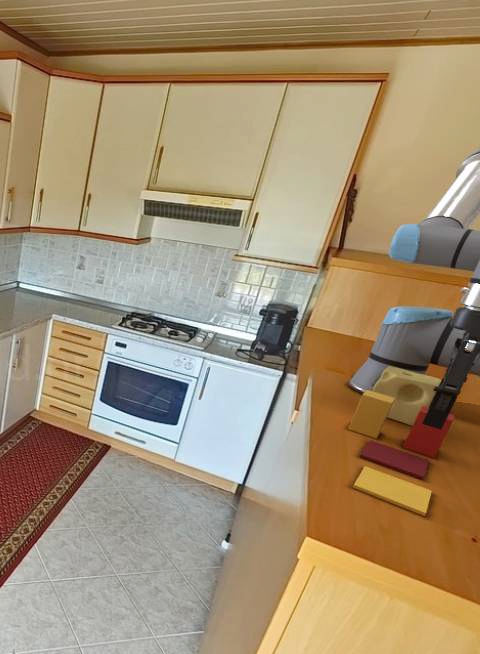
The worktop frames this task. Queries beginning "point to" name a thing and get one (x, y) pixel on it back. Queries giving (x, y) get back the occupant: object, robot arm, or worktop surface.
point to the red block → (426, 435)
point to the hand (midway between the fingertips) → (434, 418)
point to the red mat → (395, 459)
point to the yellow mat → (393, 490)
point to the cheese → (406, 392)
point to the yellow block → (371, 413)
